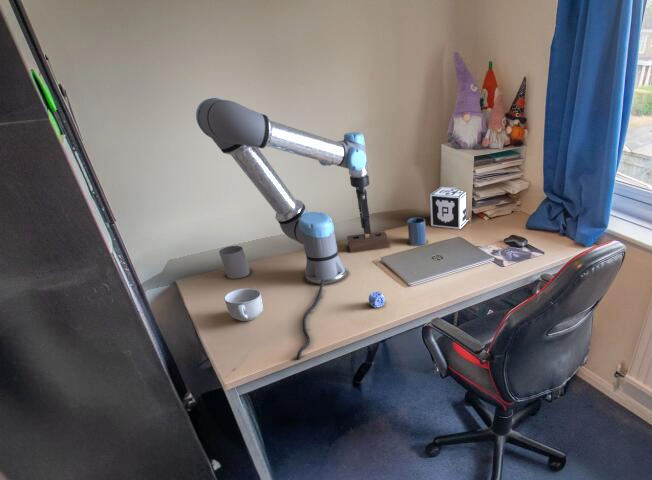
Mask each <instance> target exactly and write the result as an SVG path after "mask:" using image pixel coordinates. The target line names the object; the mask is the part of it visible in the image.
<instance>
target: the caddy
mask: <svg viewBox="0 0 652 480" xmlns="http://www.w3.org/2000/svg"><path fill="white" fill-rule="evenodd" d="M346 238H347V239H346V240H347V244H348V245H347V246H348V249H349V252H350V253H357V252H365V251H371V250H379V249H386V248H389V241H388V240H389V239H388V235H387V233H386V232H385V230H384V231H376V232H375V231H374V232H371V234H369V237H366V238H365V234H364V233H359V234H352V235H351V234H350V235H346Z"/></svg>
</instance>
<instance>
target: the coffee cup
mask: <svg viewBox="0 0 652 480" xmlns="http://www.w3.org/2000/svg"><path fill="white" fill-rule="evenodd" d="M406 221H407V222H406V223H407V234H408V236H407V237H408V244H409V245H411V246H424V245H426V244H427V225H426V219H425V218H423V217H411V218H408V219H407V220H406Z"/></svg>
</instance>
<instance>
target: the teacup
mask: <svg viewBox="0 0 652 480" xmlns="http://www.w3.org/2000/svg"><path fill="white" fill-rule="evenodd" d="M223 299H224V302H225V304H226V308H227V311H228V314H229V315H230V316H231V317H232V318H233V319H235V320H238V321H241V322H248V321H249V322H250V321H253V320H255V319H256V318H258V317H259V316H260V315H262V312H263V310H264V305H263V299H262V293H261V291H260V290H259V289H256V288H239V289H235V290H232V291H230V292H228V293H226V294H225V295H224V297H223Z"/></svg>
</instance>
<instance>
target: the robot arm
mask: <svg viewBox="0 0 652 480" xmlns="http://www.w3.org/2000/svg"><path fill="white" fill-rule="evenodd" d="M195 119H196V123H197V125H198V127H199V129H200V130H201V131H202V132H203V134H204V135H206V136H207V137H209V138H211V140H212V141H213V142H214V143H215V145H216V146H217V147H218V148H219V150H220V152H222V154H224V155H229V156H231V157H232V159H233V160H234V161H235V163H236V164H237V165H238V167H240V169H241V170H242V172H244V174H245V175H246V176H247V178H249V180H250V181H251V183H252V184H253V185H254V187H255V188H256V189H257V190H258V192H259V193H260V194H261V195H262V196H263V198H264V199H265V200H266V202H267V203H268V204H269V206H270V207H271V208H272V209H273V211H274V212H275V220H276V221H277V223H278V225H279V227H280V229H281V231H282V232H283V234H285V236H287V238H289V239H291V240H294V241H295V242H297V243H299V244H301V245H303V248H304V249H303V250H304V253H305V258H306V262H305V263H306V264H305V271H304V276H305V280H306V282H308V283H309V284H313V285H319V290H318V294H317V296H316V299H315V300H314V302H313V304H312V305H311V307H309V308H308V309H307V311H306V312H305V313H304V315H303V317H302V331H303V334H304V336H305V338H306V342H305V344H304V345H302V346H301V347H300V348H299V349H298V351H297V354H296V360H297V361H300V360H301V356H302V353H303V352H304V350H306V349H307V348H308V347H309V345H310V344H311V338H310V335H309V333H308V331H307V319H308V316H309V314H310V313H311V312H312V311H313V310H314V309H315V308H316V306H317V305H318V303H319V300H320V299H321V296H322V292H323V287H324V285H331V284H334V283H337V282H339V281H341V280H343V279H344V278H345V277H347V269H346V267H345V265H344V262H343V261H342V259H341V257H340V256H339V252H338V245H337V239H336V234H335V233H336V232H335V226H334V223H333V219H332V218H331V216H330V215H328V214H327V213H325V212H322V211H320V212H318V211H310V210H309V209H308V208H307V206H306V205H305V204H304V203H303V201H302V200H300V199H296V198H295V197H294V196H293V194H292V193H291V191H290V190H289V188H288V187H287V186H286V184H285V183H284V182H283V180H282V179H281V177H280V176H279V175H278V174H277V171H275V169H274V167H273V166H272V165H271V164H270V162H269V161H268V160H267V158H266V156H265V155H264V154H263V153H262V151H261V150H260V149H265V148H266V147H267V148H271V149H275V150H278V151H282V152H287V153H289V154H293V155H297V156H299V157H303V158H304V157H305V158H307V159H312V160H315V161H318V162H319V164H320V165H321V166H324V167H325V166H326V167H327V166H329V167H330V166H333V165H334V166H336V167H340V168H344V169H347V170H348V175H349V181H350V186H351V187H353V188H355V194H356V198H357V204H358V211H359V218H360V225H361V229H363V234H371V233H372V231H371V223H370V219H371V217H370V211H369V204H368V193H367V190H366V187H369V186H370V176H369V168H370V166H369V165H368V161H367V160H368V159H367V152H366V151H367V150H366V142H365V138H364V135H363V133H361V132H347V133H344V134H343V140H338V141H336V140H333V139H329V138H326V137H323V136H320V135H316V134H314V133H311V132H307V131H305V130H301V129H298V128H295V127H292V126H290V125H286V124H282V123H280V122H276V121H274V120H270V118H269V117H268V115H267V114H264V113H262V112H261V113H260V112H257V111H256V110H253V109H251V108H248V107H247V106H244V105H242V104H240V103H238V102H236V101H233V100H230V99H229V100H228V99H222V98H220V97H219V98H218V97H211V98H206V99H204V100H202V101H201V102H200V103H199V104H198V106H197V108H196V111H195ZM361 211H362V212H361ZM362 216H363V218H362Z"/></svg>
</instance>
